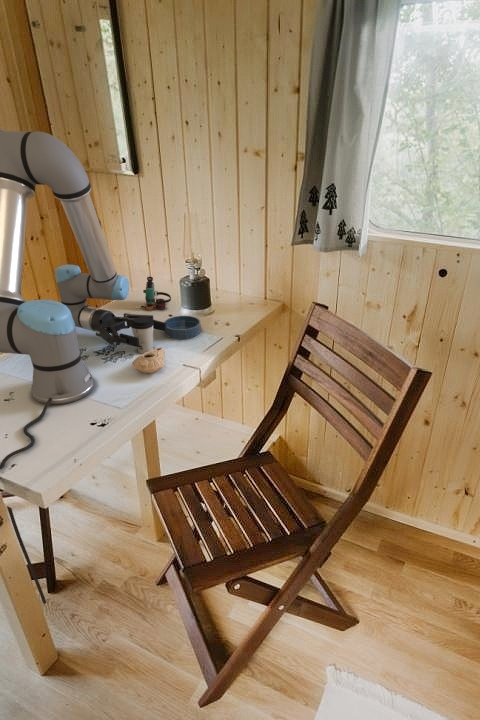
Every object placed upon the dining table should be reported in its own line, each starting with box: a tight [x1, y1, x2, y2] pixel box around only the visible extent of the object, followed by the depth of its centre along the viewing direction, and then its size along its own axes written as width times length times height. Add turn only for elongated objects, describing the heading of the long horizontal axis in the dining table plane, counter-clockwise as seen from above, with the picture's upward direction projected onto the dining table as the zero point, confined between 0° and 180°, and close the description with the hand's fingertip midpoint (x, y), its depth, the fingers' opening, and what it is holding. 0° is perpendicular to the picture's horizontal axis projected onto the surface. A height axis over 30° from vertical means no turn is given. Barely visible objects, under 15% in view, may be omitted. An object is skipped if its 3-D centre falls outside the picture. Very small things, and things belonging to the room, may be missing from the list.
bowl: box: [163, 315, 202, 340], centre depth 156 cm, size 12×12×4 cm
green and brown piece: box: [142, 276, 172, 311], centre depth 174 cm, size 9×11×10 cm
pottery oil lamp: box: [131, 347, 166, 375], centre depth 134 cm, size 9×12×7 cm
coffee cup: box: [130, 317, 154, 354], centre depth 143 cm, size 7×7×10 cm
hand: (152, 334), depth 141 cm, fingers open, 12 cm apart
